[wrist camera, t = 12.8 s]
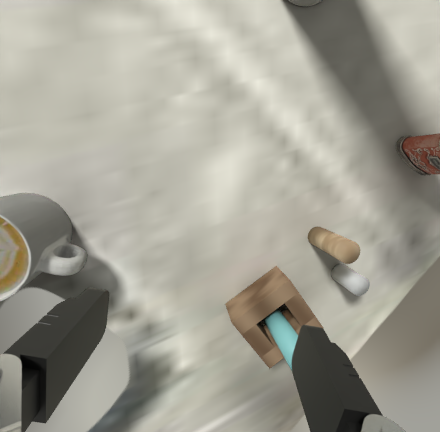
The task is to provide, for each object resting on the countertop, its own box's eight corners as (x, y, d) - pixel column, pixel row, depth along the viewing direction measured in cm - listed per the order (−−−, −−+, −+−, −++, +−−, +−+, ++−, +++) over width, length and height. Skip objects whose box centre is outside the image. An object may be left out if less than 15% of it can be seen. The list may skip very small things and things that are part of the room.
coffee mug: (-26, 244, 33) (-111, 278, 23) (9, 178, 32) (-63, 183, 22) (75, 289, 36) (38, 334, 26) (110, 229, 35) (84, 254, 26)
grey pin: (342, 260, 42) (364, 272, 37) (350, 273, 43) (372, 287, 38) (328, 271, 42) (347, 285, 37) (336, 284, 43) (356, 299, 38)
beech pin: (319, 222, 40) (353, 236, 32) (328, 237, 41) (363, 254, 33) (304, 234, 40) (334, 250, 32) (313, 248, 41) (345, 268, 33)
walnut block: (276, 266, 40) (289, 279, 36) (307, 309, 43) (323, 328, 38) (225, 303, 40) (231, 323, 35) (259, 345, 43) (269, 368, 38)
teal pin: (269, 295, 41) (306, 346, 30) (279, 308, 42) (318, 363, 30) (254, 307, 41) (285, 362, 30) (264, 319, 42) (298, 378, 30)
